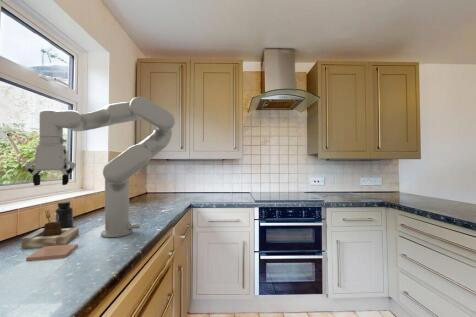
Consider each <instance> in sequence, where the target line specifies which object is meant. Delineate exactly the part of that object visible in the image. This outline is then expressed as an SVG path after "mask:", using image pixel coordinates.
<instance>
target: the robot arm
mask: <svg viewBox="0 0 476 317" xmlns="http://www.w3.org/2000/svg"><path fill="white" fill-rule="evenodd" d="M139 120H144V121H146V122H147V123H149V124H150V125H153V132H151V133H150V135H148V136H146V138H144V139H143V140H142V141H140V142H139V143H137V144H133V145H131V146H129V147H128V148H127V149H125V150H124V151H123V152H121V153H120V154H119V155H117V156H116V157H114V158H113V159H111V160H110V161H108V162H107V163H106V164H105V165H104V166H103V170H102V175H103V178H104V230H102V231H101V232H100V235H101V237H103V238H119V237H120V238H121V237H124V236H128V235H131V234H133V233H134V229H140V228H141V223H137V222H136V223H132V220H130V178H131V177H132V176H133V175H135V174H136V173H137V172H139V171H140V170H141V169H143V168H144V167H145V166H147V164H148V163H149V162H150V160H151V159H153V158H154V157H155V156H156V155H158V154H159V153H160V152H161V151H162V150H163V149H165V148H166V147H167V146H168V145H169V143H170V141H171V140H172V133H173V131H172V129H173V128H174V126H175V123H176V122H175V117H174V115H173V113H172V112H170V111H169V110H167V109H165V108H163V107H162V106H160V105H158V104H156V103H155V102H153V101H152V100H150V99H148V98H146V97H144V96H136V97H133V98H132V99H131V100H130V101H124V102H116V103H111V104H107V105H105V106H103V107H101V108H99V109H97V110H94V111H90V112H85V113H80V112H79V111H77V110H74V109H73V110H72V109H71V110H70V109H69V110H55V109H43V110H41V111H40V112H39V144H38V145H37V146H36V150H35V155H34V159H33V160H31V161H29V162H27V163H25V164H24V165H25V168H26V169H27V172H29V173H30V174H31V176H32V183H33V186H35V187H36V186H40V185H41V172H42V171H60V172H61V173H62V176H61V177H62V178H61V185H62V186H66V185H68V183H69V180H70V179H69V175H70V174H71V173H72V172H73V171H74V169H75V168H76V166H77V163H76V162H73V161H72V160H68V153H67V152H68V151H67V148H66V145H64V143H67V139H66V138H64V137H63V136H64V135H63V134H64V129H68V130H70V131H73V132H83V131H89V130H96V129H99V128H104V127H108V126H113V125H118V124H123V123H128V122H133V121H139ZM68 165H69V166H68ZM33 166H34V168H33ZM68 167H69V168H68Z"/></svg>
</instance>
